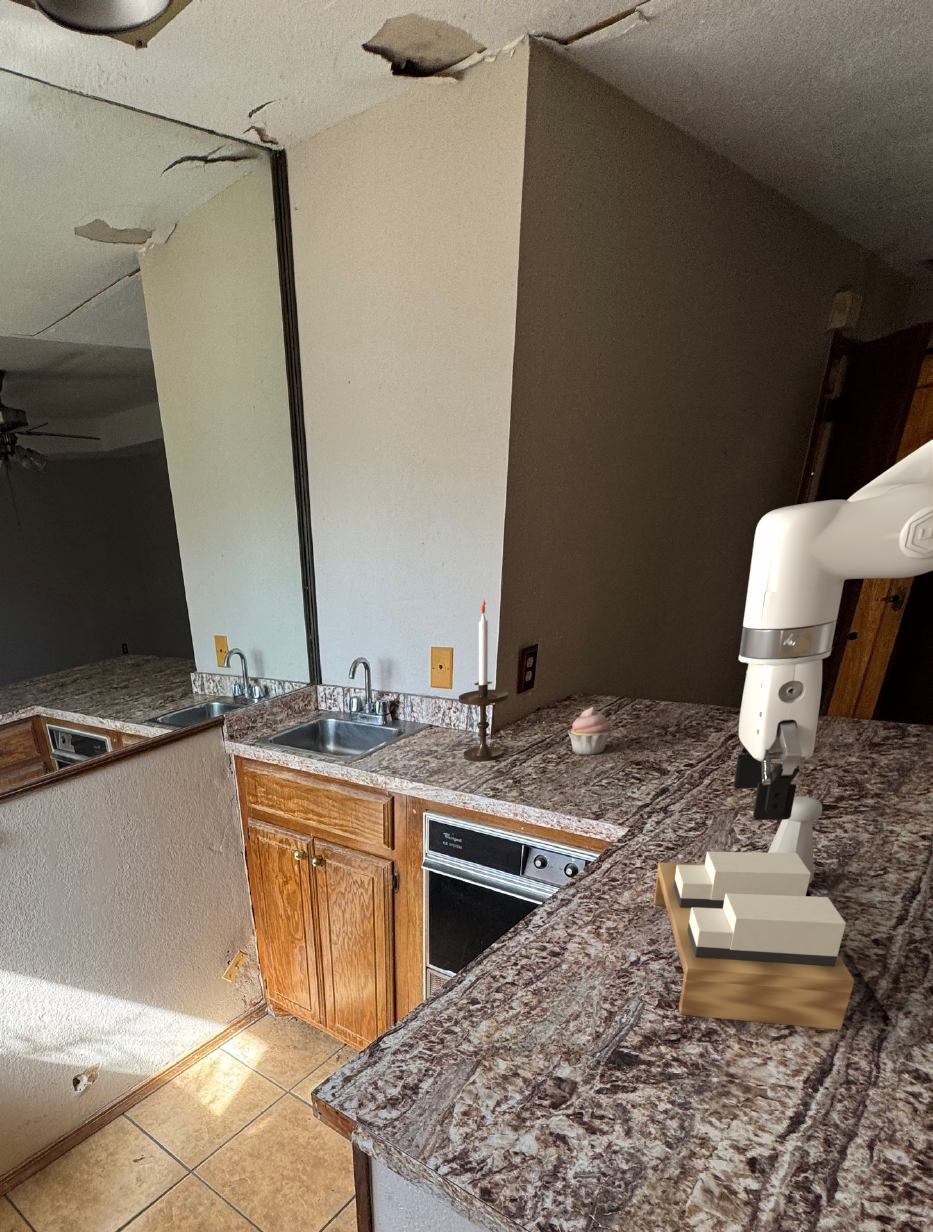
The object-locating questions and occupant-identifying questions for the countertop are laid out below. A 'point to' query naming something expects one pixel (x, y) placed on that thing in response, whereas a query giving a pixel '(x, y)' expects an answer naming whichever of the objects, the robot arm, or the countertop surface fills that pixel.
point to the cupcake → (590, 732)
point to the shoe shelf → (752, 979)
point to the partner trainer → (768, 929)
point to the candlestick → (483, 699)
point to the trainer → (739, 877)
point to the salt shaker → (798, 831)
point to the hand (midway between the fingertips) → (760, 802)
